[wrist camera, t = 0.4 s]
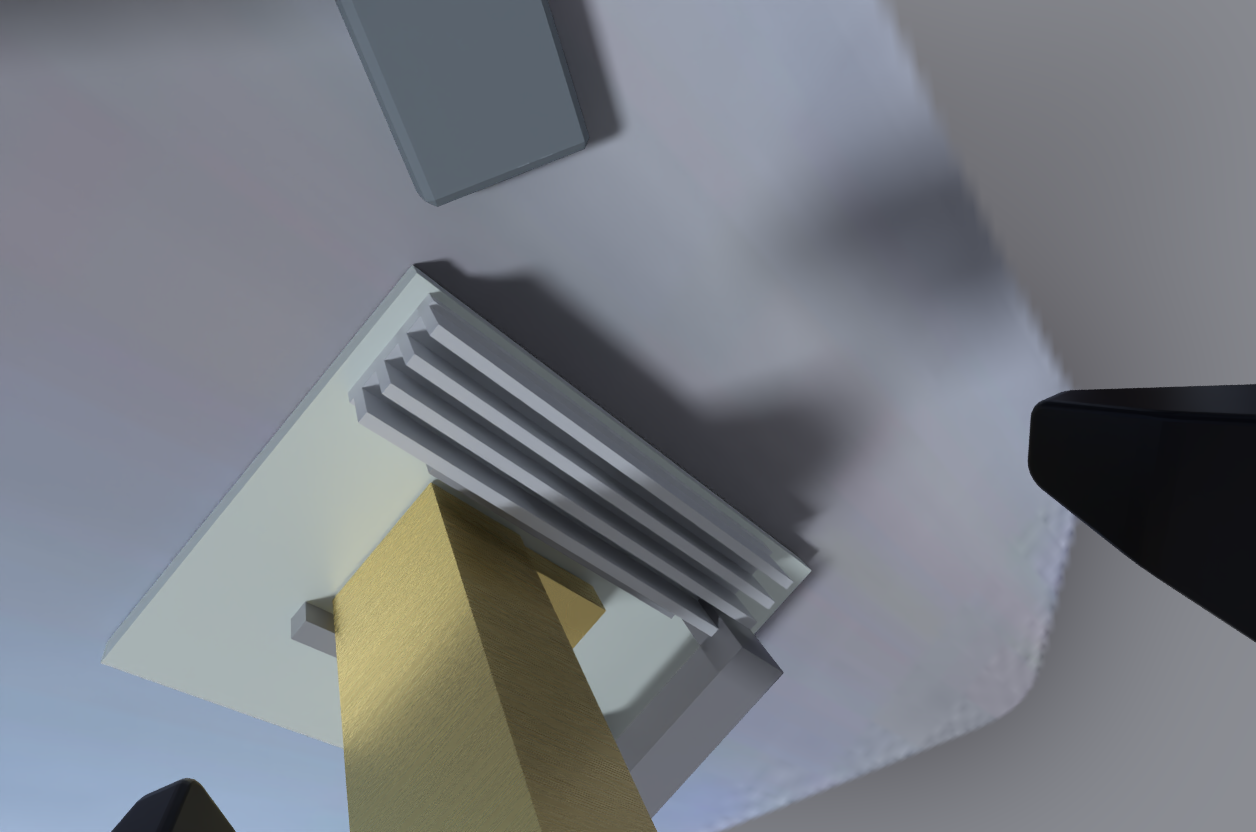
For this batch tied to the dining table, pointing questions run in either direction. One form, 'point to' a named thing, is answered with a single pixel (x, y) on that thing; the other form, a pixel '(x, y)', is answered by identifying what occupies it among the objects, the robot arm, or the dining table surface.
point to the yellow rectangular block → (472, 686)
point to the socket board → (498, 487)
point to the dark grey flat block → (468, 88)
